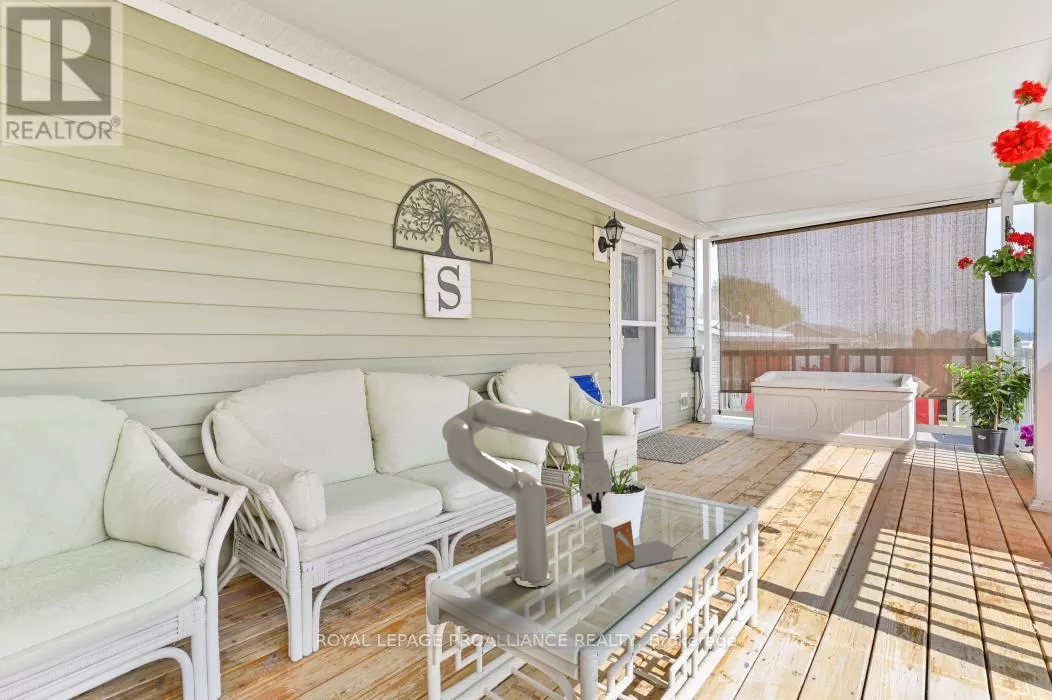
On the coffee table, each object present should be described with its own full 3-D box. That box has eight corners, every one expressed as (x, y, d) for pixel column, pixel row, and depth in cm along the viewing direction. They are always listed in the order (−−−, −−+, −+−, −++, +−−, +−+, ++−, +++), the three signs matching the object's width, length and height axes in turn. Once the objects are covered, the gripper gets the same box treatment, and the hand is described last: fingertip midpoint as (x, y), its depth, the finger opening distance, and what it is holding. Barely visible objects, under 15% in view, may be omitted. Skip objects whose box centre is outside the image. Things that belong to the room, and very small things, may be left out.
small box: (618, 567, 163) (613, 527, 163) (604, 562, 168) (599, 523, 168) (636, 559, 167) (631, 520, 167) (622, 553, 173) (617, 515, 172)
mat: (634, 569, 161) (634, 567, 161) (609, 551, 176) (609, 550, 176) (687, 557, 168) (687, 555, 168) (659, 541, 183) (659, 540, 183)
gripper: (576, 461, 159) (581, 520, 159) (618, 454, 164) (623, 511, 164) (566, 457, 166) (571, 513, 166) (607, 451, 171) (611, 505, 171)
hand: (596, 512), depth 165 cm, fingers closed
